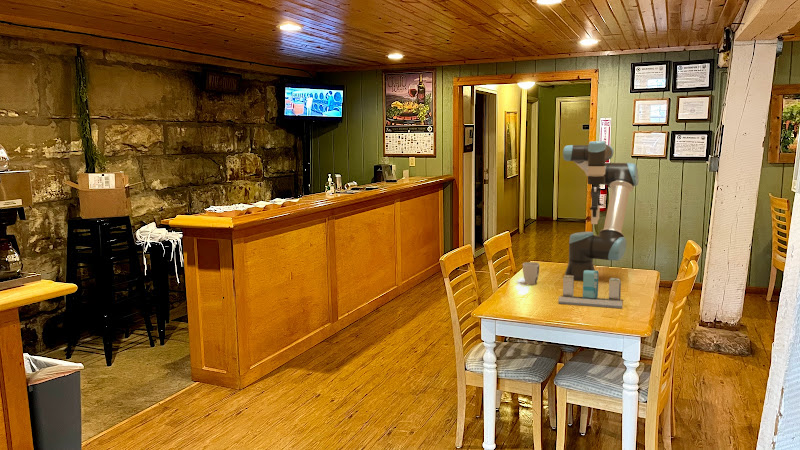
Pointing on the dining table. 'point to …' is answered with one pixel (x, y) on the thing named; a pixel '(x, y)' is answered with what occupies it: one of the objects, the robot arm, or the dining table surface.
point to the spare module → (619, 290)
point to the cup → (531, 272)
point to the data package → (590, 284)
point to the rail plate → (598, 302)
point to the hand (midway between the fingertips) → (595, 221)
